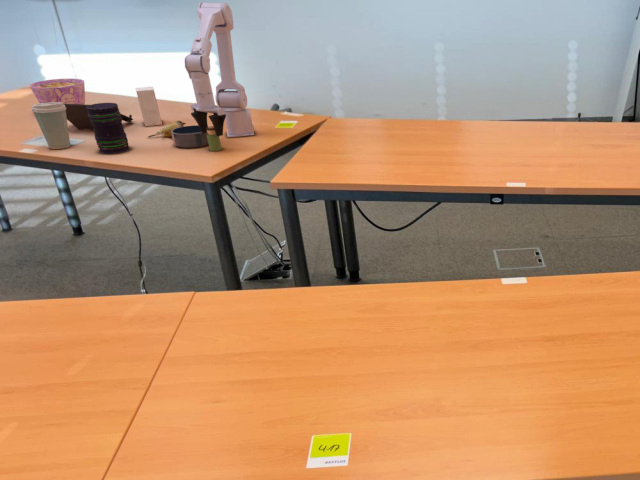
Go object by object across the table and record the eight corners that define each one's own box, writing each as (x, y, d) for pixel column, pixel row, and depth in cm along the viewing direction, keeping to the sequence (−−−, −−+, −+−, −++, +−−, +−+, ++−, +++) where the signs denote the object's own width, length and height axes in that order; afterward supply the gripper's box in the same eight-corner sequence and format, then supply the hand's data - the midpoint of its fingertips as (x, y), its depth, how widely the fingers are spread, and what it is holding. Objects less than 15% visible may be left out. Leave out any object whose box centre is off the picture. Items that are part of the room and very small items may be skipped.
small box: (162, 124, 285) (153, 89, 278) (145, 126, 283) (135, 91, 276) (161, 120, 292) (152, 86, 284) (144, 122, 289) (135, 87, 282)
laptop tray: (139, 139, 290) (139, 115, 289) (98, 125, 267) (98, 99, 266) (87, 136, 293) (87, 113, 292) (42, 122, 270) (42, 96, 269)
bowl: (212, 137, 269) (208, 123, 266) (213, 146, 259) (210, 132, 256) (174, 141, 265) (170, 127, 262) (174, 150, 255) (171, 135, 252)
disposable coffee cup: (39, 147, 258) (24, 102, 250) (71, 141, 265) (57, 98, 257) (50, 152, 252) (35, 107, 244) (82, 146, 259) (69, 102, 251)
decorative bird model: (175, 130, 264) (184, 116, 271) (142, 135, 266) (152, 121, 272) (181, 141, 267) (189, 127, 274) (149, 145, 269) (158, 131, 275)
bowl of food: (77, 118, 295) (68, 88, 288) (29, 118, 295) (18, 87, 289) (101, 107, 311) (93, 78, 305) (55, 107, 312) (46, 78, 305)
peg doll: (221, 147, 258) (216, 124, 253) (222, 150, 255) (217, 127, 250) (209, 148, 257) (204, 125, 252) (210, 151, 253) (204, 128, 249)
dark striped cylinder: (133, 145, 260) (120, 102, 251) (127, 153, 252) (114, 108, 243) (103, 147, 258) (89, 103, 250) (96, 155, 250) (82, 109, 242)
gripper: (179, 92, 246) (189, 133, 253) (208, 97, 239) (217, 139, 247) (196, 89, 251) (205, 129, 258) (225, 93, 244) (233, 135, 252)
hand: (212, 134), depth 253 cm, fingers open, 7 cm apart
